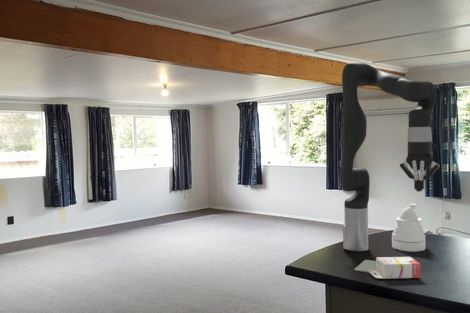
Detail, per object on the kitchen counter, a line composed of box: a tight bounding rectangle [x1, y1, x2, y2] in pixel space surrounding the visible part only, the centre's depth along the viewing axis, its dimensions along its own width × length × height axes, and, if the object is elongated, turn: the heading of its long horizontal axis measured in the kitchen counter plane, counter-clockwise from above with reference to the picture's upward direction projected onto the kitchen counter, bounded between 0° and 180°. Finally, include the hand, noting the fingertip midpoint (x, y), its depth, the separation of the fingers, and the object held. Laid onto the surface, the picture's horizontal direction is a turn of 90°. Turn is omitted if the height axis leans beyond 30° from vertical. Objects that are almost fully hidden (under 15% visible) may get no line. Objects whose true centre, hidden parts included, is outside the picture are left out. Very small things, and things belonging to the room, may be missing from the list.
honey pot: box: [391, 203, 426, 252], centre depth 182 cm, size 13×13×18 cm
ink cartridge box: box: [368, 256, 422, 280], centre depth 146 cm, size 9×5×15 cm
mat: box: [354, 259, 376, 273], centre depth 155 cm, size 16×13×1 cm
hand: (419, 191), depth 151 cm, fingers closed
